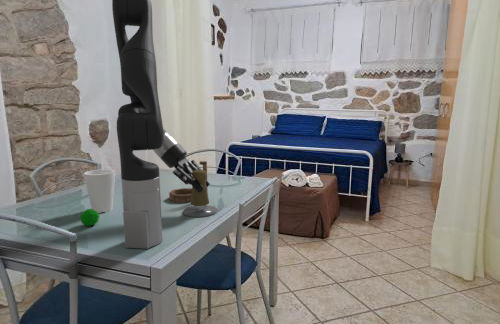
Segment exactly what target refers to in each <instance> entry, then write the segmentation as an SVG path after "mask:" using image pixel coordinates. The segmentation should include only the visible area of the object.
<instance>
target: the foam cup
mask: <svg viewBox="0 0 500 324" xmlns="http://www.w3.org/2000/svg"><path fill="white" fill-rule="evenodd" d="M83 178H84V182H85V186H86V191H87V194H88V199H89V203H90V207H91V208H90V209H92V210H94V211H96V212H98V214H102V213H101V212H105V213H109V212H112V211H113V207H114V196H115V195H114V193H115V179H116V171H115V169H111V168H110V169H103V168H102V169H93V170H92V169H91V170H87V171H85V172H84V173H83Z"/></svg>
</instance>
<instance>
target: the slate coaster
mask: <svg viewBox="0 0 500 324" xmlns="http://www.w3.org/2000/svg"><path fill="white" fill-rule="evenodd" d="M215 213H216V214H217V213H218V208H217V207H216V206H213V205H210V204H207V205H204V206H194V205H191V206H187V207H185V208H184V209H183V214H184V216H186V217H190V218H205V217H210V216H211V217H212V216H214V215H216V214H215Z"/></svg>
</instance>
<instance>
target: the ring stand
mask: <svg viewBox="0 0 500 324" xmlns="http://www.w3.org/2000/svg"><path fill="white" fill-rule="evenodd" d="M207 162H208V161H207V160H206V161H204V160H202V161H199V165H202V170H204V171H206V173H207V174H208V166H207V165H208V163H207ZM206 180H207V181H208V178H207V179H206ZM208 190H209V189H208V188H207V192H209V191H208ZM191 194H192V188H191V187H190V188H189V187H187V188H186V187H185V188H184V187H183V188H177V189H173V190H171V191H170V192H168V196H169V200H170V201H172V202H173V203H191Z"/></svg>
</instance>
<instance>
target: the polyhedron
mask: <svg viewBox="0 0 500 324" xmlns="http://www.w3.org/2000/svg"><path fill="white" fill-rule="evenodd" d="M79 218H80V222H81V224H82V225H84V226H86V227H92V226H91V225H93V226H94V225H95V224H97V223H98V222H99V219H100V213H98V212H96V211H94V210H92V208H89V209H86V210H84V211H83V212H82V213H80V217H79Z"/></svg>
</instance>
